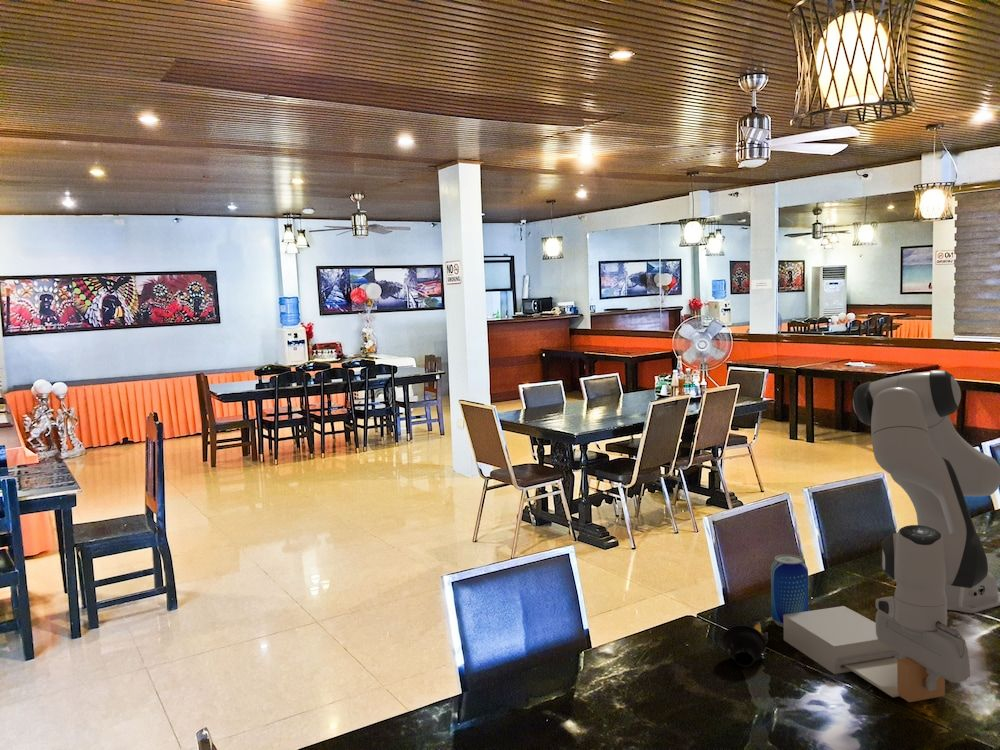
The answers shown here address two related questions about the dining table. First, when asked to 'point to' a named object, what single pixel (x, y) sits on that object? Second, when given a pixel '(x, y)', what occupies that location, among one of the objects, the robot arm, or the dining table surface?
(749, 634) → the fried shrimp in bowl
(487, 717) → the dining table surface
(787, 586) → the beer can
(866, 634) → the block
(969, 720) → the dining table surface
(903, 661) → the tan-tipped white bar
